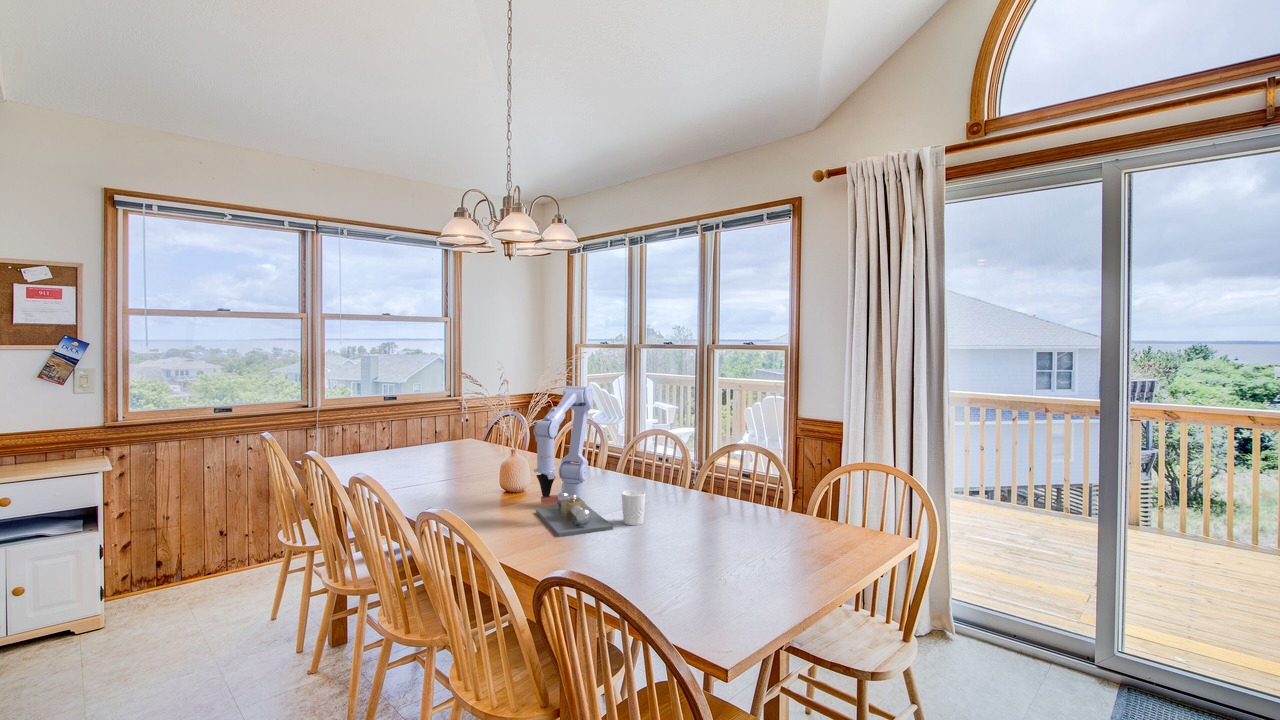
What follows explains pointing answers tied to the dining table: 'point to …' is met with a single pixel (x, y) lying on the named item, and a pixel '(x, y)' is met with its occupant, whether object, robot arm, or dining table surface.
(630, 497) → the white cup
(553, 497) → the valve lever
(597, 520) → the mounting board
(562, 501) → the valve body
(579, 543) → the dining table surface
